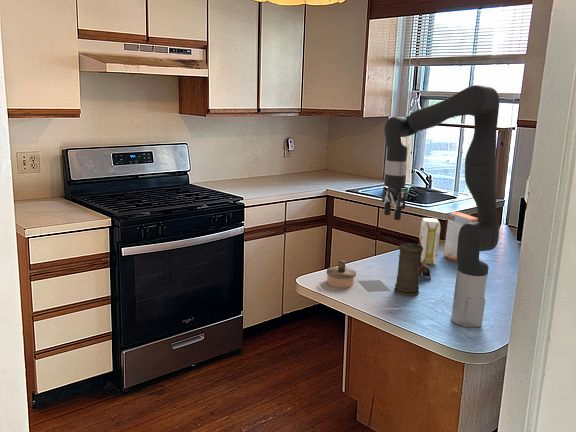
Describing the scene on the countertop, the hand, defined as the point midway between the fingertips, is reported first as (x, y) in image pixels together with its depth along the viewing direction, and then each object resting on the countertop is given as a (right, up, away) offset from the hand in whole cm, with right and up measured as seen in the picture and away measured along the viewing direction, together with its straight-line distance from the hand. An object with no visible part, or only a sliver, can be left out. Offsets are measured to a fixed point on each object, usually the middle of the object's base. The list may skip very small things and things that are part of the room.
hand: (392, 217), depth 195 cm
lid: (-18, -21, +6) cm, 29 cm away
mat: (-6, -26, +6) cm, 27 cm away
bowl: (-18, -25, +7) cm, 32 cm away
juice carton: (+23, -20, +39) cm, 49 cm away
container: (+6, -28, +2) cm, 29 cm away
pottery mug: (+14, -25, +18) cm, 33 cm away
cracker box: (+38, -20, +44) cm, 61 cm away
